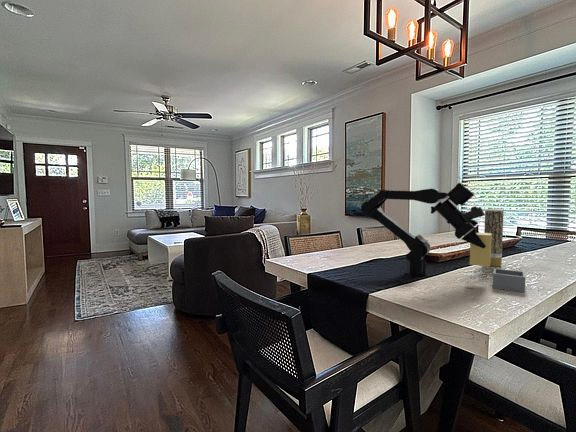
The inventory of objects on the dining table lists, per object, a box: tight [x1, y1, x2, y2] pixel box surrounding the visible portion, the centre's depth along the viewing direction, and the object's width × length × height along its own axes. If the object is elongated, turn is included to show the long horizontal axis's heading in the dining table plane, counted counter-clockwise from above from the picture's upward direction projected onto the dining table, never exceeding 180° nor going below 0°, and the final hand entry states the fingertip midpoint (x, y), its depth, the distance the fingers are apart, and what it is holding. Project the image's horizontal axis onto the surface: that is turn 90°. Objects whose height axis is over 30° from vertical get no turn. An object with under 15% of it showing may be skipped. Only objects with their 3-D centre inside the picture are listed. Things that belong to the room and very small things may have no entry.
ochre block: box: [469, 232, 492, 267], centre depth 112 cm, size 6×6×11 cm
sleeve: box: [492, 267, 527, 293], centre depth 107 cm, size 9×9×5 cm
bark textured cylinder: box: [483, 208, 504, 268], centre depth 138 cm, size 7×7×25 cm
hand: (485, 246), depth 111 cm, fingers closed on ochre block, 6 cm apart
